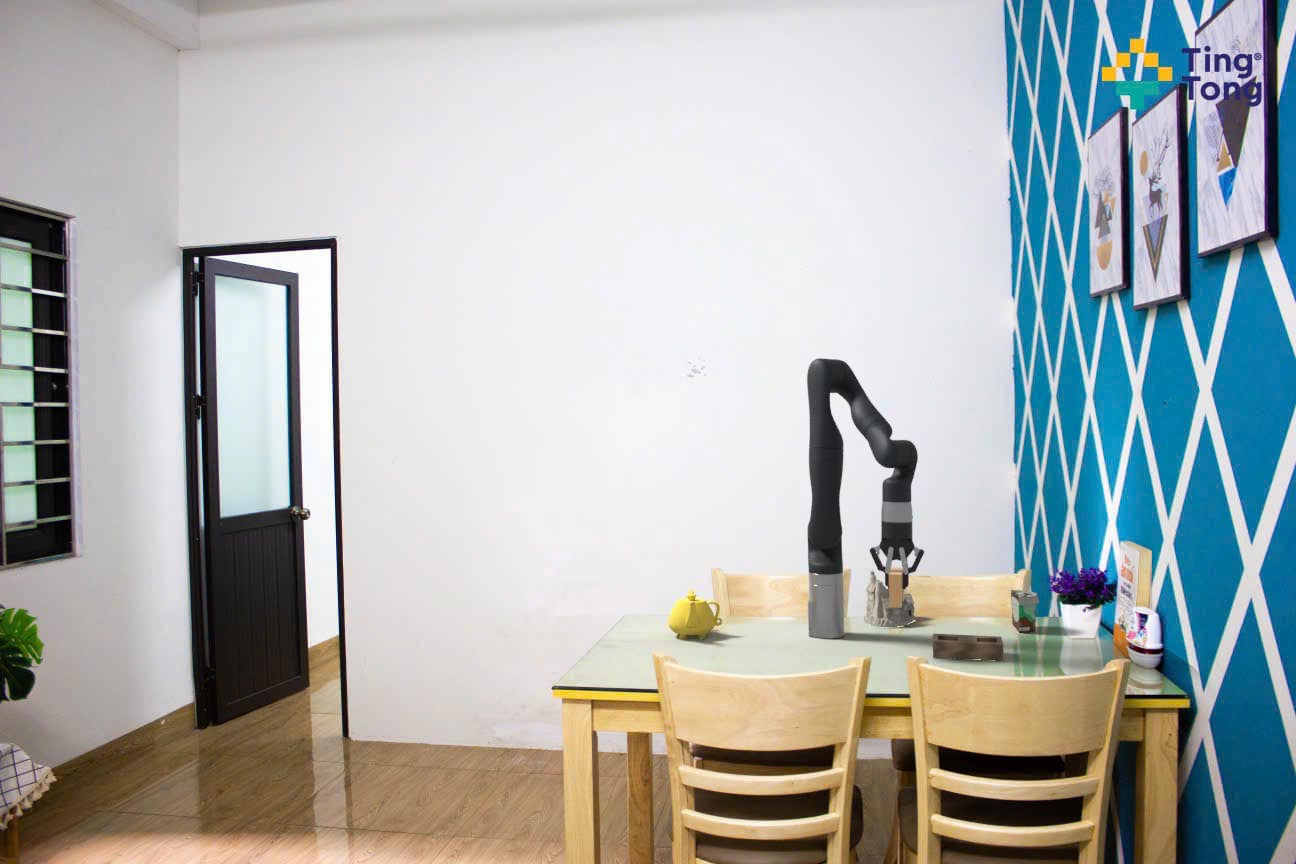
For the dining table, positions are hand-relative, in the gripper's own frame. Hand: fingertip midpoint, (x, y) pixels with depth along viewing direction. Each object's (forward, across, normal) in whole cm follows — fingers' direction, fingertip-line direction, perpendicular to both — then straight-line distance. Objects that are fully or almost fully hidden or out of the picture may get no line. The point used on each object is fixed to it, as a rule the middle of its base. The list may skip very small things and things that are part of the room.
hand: (896, 588), depth 231 cm
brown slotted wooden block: (+16, +17, +1) cm, 23 cm away
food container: (+15, +32, +34) cm, 49 cm away
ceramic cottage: (+16, -4, +37) cm, 40 cm away
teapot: (+17, -54, +7) cm, 57 cm away
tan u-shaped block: (+4, 0, 0) cm, 4 cm away
